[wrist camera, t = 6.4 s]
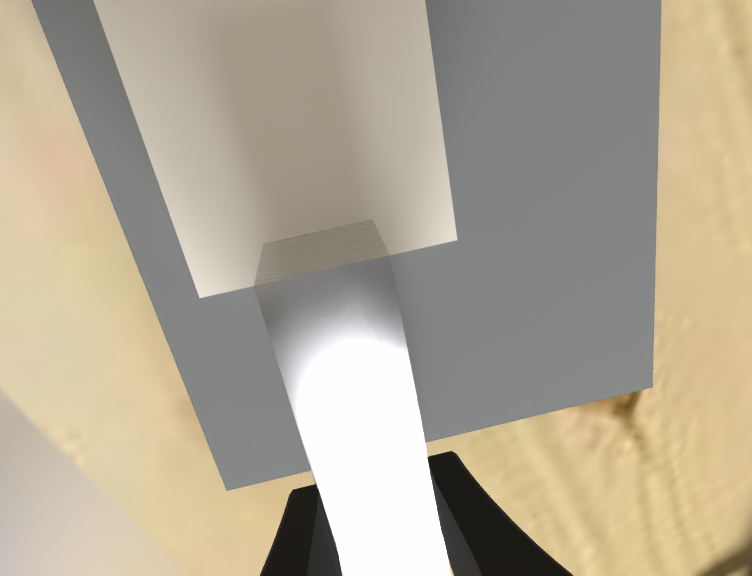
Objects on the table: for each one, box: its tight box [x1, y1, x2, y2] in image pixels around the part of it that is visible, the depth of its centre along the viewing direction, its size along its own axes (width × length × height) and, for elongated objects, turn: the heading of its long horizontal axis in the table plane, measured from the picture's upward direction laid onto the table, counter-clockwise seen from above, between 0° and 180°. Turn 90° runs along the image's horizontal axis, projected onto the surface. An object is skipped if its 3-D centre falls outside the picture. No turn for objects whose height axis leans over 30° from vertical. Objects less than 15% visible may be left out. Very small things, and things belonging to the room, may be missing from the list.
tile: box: [93, 0, 457, 298], centre depth 13 cm, size 7×2×7 cm
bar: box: [254, 219, 450, 576], centre depth 13 cm, size 2×12×2 cm, turn 11°
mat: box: [32, 0, 661, 491], centre depth 16 cm, size 16×16×1 cm
